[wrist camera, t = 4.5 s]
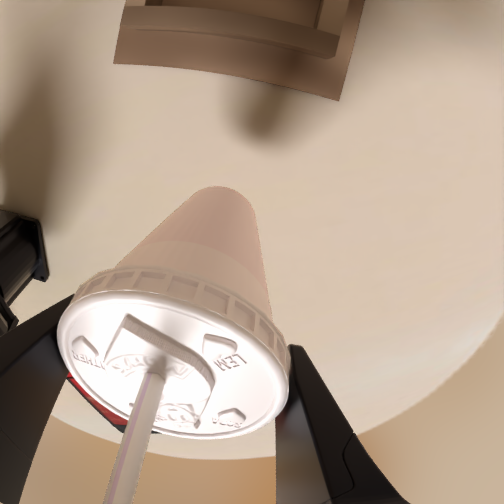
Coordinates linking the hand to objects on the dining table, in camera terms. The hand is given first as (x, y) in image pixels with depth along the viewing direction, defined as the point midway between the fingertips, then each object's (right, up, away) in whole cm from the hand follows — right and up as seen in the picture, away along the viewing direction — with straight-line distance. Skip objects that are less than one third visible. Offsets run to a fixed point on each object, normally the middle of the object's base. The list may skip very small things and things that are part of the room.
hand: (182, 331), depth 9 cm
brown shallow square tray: (+2, +19, +3) cm, 20 cm away
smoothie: (0, +4, +7) cm, 8 cm away
